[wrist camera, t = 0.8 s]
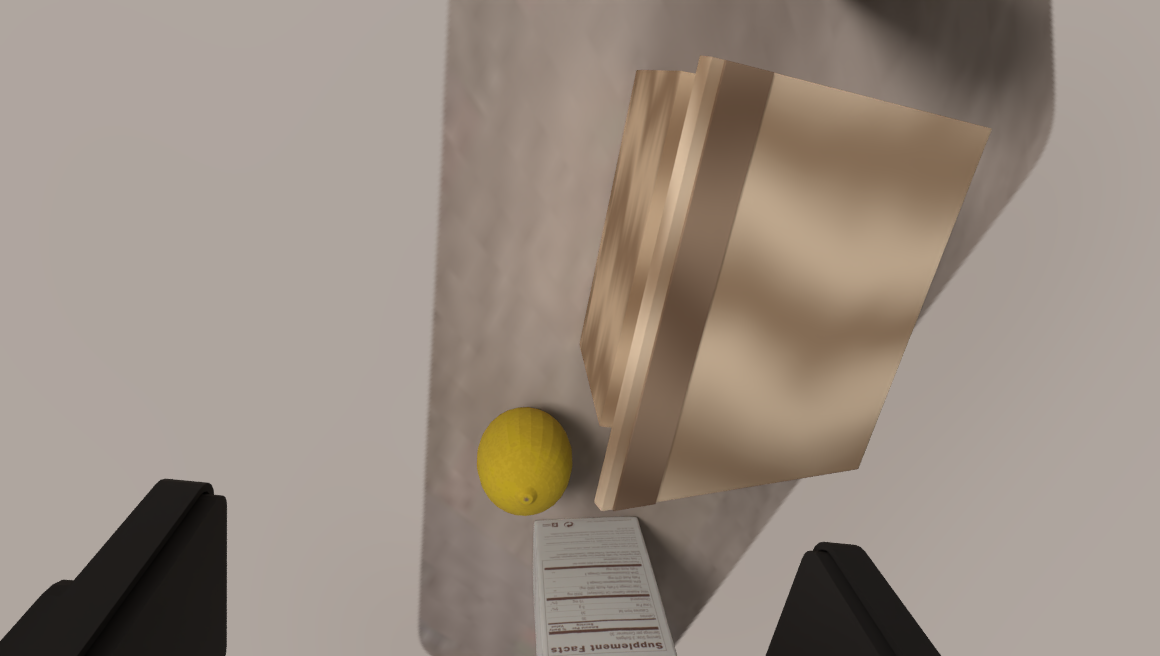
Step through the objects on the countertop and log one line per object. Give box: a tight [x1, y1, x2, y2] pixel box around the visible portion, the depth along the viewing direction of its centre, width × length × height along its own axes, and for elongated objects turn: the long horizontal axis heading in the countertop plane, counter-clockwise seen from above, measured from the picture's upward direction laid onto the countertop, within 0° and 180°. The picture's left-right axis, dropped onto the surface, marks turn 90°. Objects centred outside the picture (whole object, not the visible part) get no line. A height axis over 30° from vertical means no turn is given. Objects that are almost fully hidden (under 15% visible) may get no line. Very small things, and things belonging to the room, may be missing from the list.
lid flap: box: [594, 56, 992, 511], centre depth 27 cm, size 17×15×1 cm
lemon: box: [477, 407, 572, 516], centre depth 39 cm, size 6×6×8 cm
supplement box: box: [533, 517, 677, 656], centre depth 41 cm, size 7×7×13 cm
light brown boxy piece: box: [580, 70, 696, 427], centre depth 34 cm, size 16×13×10 cm
